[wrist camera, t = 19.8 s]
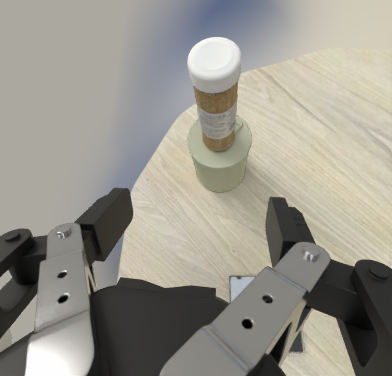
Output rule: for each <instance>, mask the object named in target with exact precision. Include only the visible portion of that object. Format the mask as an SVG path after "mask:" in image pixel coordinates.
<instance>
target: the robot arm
mask: <svg viewBox="0 0 392 376" xmlns="http://www.w3.org/2000/svg"><path fill="white" fill-rule="evenodd" d="M132 218H133V207H132V202H131V196H130V191H129V189H127V188H114V189H113V190H112V191H111V192H110V193H109V194H108V195H107V196H104V197H102V198H100V199H98V200H97V201H96V202H95V203H94V204H93V205H92V206H91V207H90V208H89V209H88V210H87V211H86V212H84V213H83V214H82V215H81V216H80V217H79V218H78V219H77V220H76V221H75V222H74V223H66V224H62V225H60V226H57V227H56V228H54V229H52V230H51V231H50V232H49V234H48V235H46V236H38V237H33V236H32V233H31V231H30V230H28V229H17V230H13V231H10V232H7V233H5V234H3V235H2V236H0V277H1V276H2V275H3V274H4V273H5V272H6V271H7V270H9V271H10V273H11V275H12V277H13V278H12V279H11V280H10V281H9V282H8V283H7V284H6V285H5V286H4V287H3V288H2V289H1V290H0V339H1V338H2V336H3V335H4V334H5V333H6V332H7V330H8V329H9V328H10V327H11V325H12V324H13V323H14V322H15V320H16V319H17V318H18V317H19V315H20V314H21V312H23V310H24V309H25V308H26V307H27V305H28V304H29V303H30V301H31V300H32V299H33V298H34V297H35V295H36V294H37V304H36V316H35V328H34V331H32V332H31V333H29V334H28V335H26V336H25V337H23V338H22V339H20V340H19V341H17V342H15V343H14V344H12V345H11V346H9V347H8V348H6V349H4V350H3V351H1V352H0V376H286V375H285V373H284V372H283V371H282V369H281V368H280V367H281V365H282V364H283V362H284V360H285V358H286V356H287V354H288V352H289V350H290V348H291V346H292V344H293V342H294V340H295V338H296V336H297V335H298V333H299V331H300V330H301V328H302V326H303V325H304V323H305V321H306V320H307V318H308V316H309V315H310V313H311V312H312V310H313V309H315V310H318V311H320V312H323V313H325V314H328V315H330V316H333V317H335V318H336V319H337V322H338V325H339V328H340V331H341V334H342V337H343V340H344V343H345V346H346V349H347V352H348V354H349V357H350V360H351V363H352V366H353V369H354V372H355V375H356V376H392V269H391V268H390V267H388V266H386V265H384V264H382V263H380V262H377V261H373V260H366V259H365V260H360V261H358V262H356V264H355V266H354V267H353V266H350V265H347V264H343V263H340V262H337V261H334V260H332V259H330V256H329V254H328V252H327V251H326V250H325V249H323V248H322V247H320V246H319V245H316V243H315V241H314V239H313V237H312V235H311V232H310V230H309V228H308V226H307V224H306V222H305V219H304V217H303V215H302V213H301V212H300V211H299V210H297V209H296V208H295V207H288V204H287V202H286V199H285V198H283V197H270V198H269V203H268V210H267V216H266V226H265V227H266V236H267V241H268V246H269V251H270V257H271V262H272V267H273V268H270V267H268V266H267V267H265V268H264V269H263V270H262V271H261V272H260V273H259V274H258V275H257V276H256V277H255V278H254V279H253V280H252V281H251V282H250V283H249V284H248V285H247V287H246V288H245V289H244V290H243V291H242V292H241V293H240V294H239V295H238V296H237V297H236V298H235V299H234V300H233V301H232V302H231V303H230V304H229V303H228V302H226V301H225V300H223V299H221V298H218V297H216V288H209V287H200V286H182V287H173V288H163V287H160V286H158V285H155V284H152V283H150V282H147V281H144V280H139V279H131V278H122V277H121V278H120V279H119V281H118V283H117V285H114V286H109V287H106V288H103V289H100V290H98V289H97V284H96V278H95V273H94V268H93V265H92V263H93V262H94V261H105V260H106V258H107V257H108V255H109V254H110V252H111V251H112V249H113V248H114V246H115V245H116V243H117V242H118V240H119V239H120V237H121V236H122V234H123V233H124V231H125V230H126V228H127V227H128V225H129V224H130V222H131V221H132Z"/></svg>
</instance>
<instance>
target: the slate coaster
mask: <svg viewBox="0 0 392 376" xmlns="http://www.w3.org/2000/svg"><path fill="white" fill-rule="evenodd" d="M255 277H256V276H230V301H231V302H232V301H233V300H234V299H235V298H236V297H237V296H238V295H239V294H240V293H241V292H242V291H243V290H244V289H245V288H246V287H247V285H248V284H249V283H250V282H251V281H252V280H253V279H254V278H255ZM289 351H297V352H303V350H302V341H301V332H300V331H299V333H298V335H297V336H296V338H295V340H294V342H293V344H292V346H291V348H290V350H289Z"/></svg>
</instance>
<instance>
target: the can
mask: <svg viewBox="0 0 392 376" xmlns="http://www.w3.org/2000/svg"><path fill="white" fill-rule="evenodd" d="M234 132H235V138H234V141H233V143H232V144H231V146H230V147H228V148H227V149H224V150H222V151H214V150H211V149H209V148H207V146H206V145H205V144H204V142H203V140H202V130H201V127H200V122H199V119H198V120H197V121H196V122H195V123H194V124H193V125H192V127H191V128H190V130H189V133H188V137H187V145H188V149H189V152H190V154H191V156H192V159H193V162H194V165H195V168H196V174H197V177H198V179H199V181H200V183H201V184H202V185H203V186H204V187H206V188H207V189H209V190H211V191H215V192H226V191H230V190H232V189H234V188H235V187H237V186H238V185H239V184H240V183H241V181H242V180H243V178H244V175H245V166H246V161H247V157H248V153H249V150H250V147H251V143H252V135H251V131H250V128H249V126H248V125H247V123H246V122H245V121H244V120H243V119H242V118H241V117H239V116H238V115H236V123H235V129H234Z"/></svg>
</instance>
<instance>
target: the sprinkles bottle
mask: <svg viewBox="0 0 392 376" xmlns="http://www.w3.org/2000/svg"><path fill="white" fill-rule="evenodd" d="M188 69H189V75H190V79H191V82H192V84H193V85H194V91H195V97H196V103H197V109H198V117H199V122H200V127H201V130H202V140H203V142H204V144H205V145H206V146H207V148H209V149H211V150H214V151H222V150H224V149H227V148H228V147H230V146H231V144H232V143H233V141H234V138H235V132H234V129H235V123H236V111H237V97H238V94H237V90H238V87H237V86H238V79H239V77H240V73H241V52H240V49H239V48H238V46H237V45H236V44H235V43H234V42H232V41H231V40H229V39H226V38H223V37H212V38H208V39H205V40H202V41H200V42H199V43H197V44H196V45H195V46H194V47H193V48H192V50H191V51H190V53H189V56H188Z"/></svg>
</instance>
